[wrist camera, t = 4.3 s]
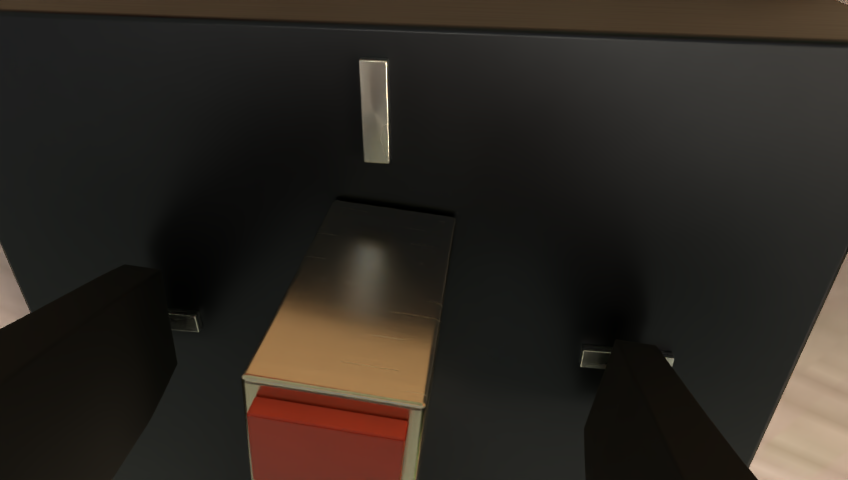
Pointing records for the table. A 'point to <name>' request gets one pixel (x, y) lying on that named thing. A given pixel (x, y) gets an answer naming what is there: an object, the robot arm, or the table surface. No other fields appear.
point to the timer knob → (351, 350)
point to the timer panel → (443, 193)
